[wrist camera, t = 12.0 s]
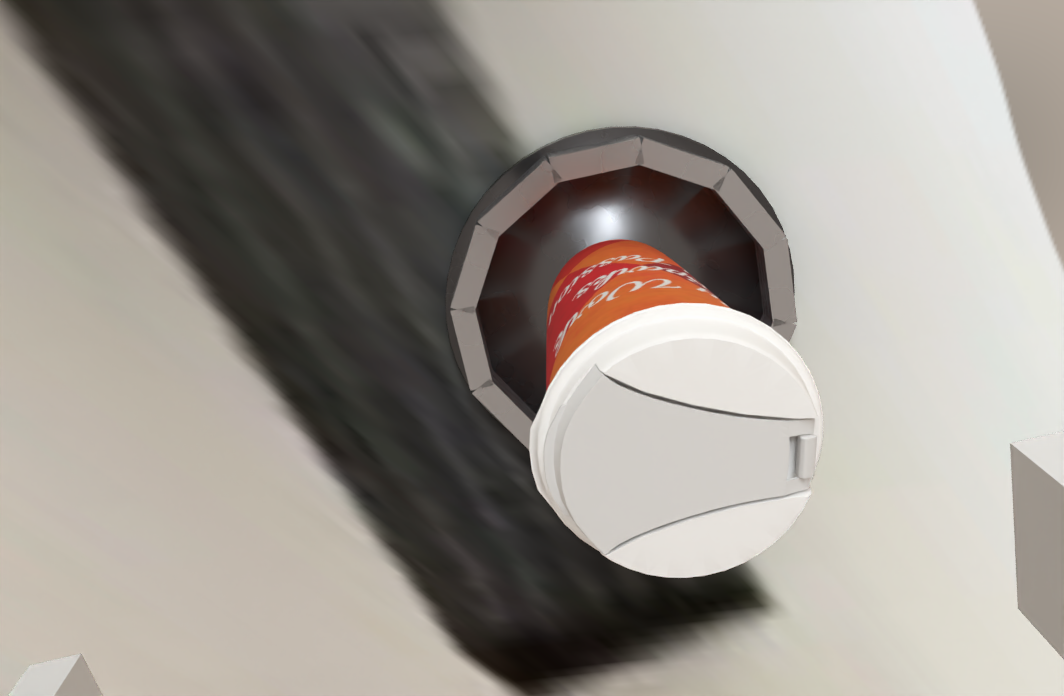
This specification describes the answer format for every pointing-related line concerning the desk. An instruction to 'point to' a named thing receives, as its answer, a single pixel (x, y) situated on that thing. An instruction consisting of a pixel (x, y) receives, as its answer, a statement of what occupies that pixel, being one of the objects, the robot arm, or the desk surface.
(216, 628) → the desk surface
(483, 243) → the ring seat
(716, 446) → the coffee cup
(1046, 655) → the desk surface
